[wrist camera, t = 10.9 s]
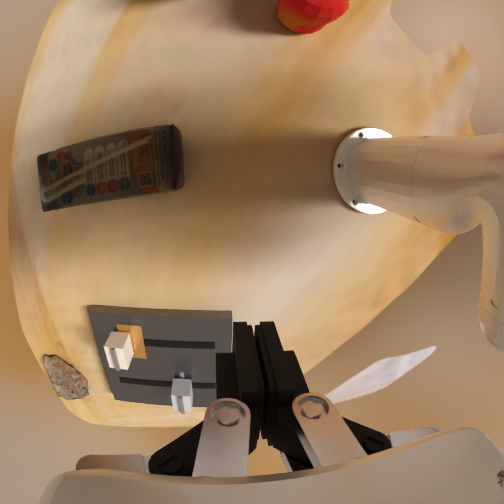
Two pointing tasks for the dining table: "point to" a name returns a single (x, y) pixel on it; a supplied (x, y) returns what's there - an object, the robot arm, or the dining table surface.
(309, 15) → the apple
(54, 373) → the rock
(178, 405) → the white block
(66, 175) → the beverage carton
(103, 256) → the dining table surface
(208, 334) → the console
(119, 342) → the fader cream
